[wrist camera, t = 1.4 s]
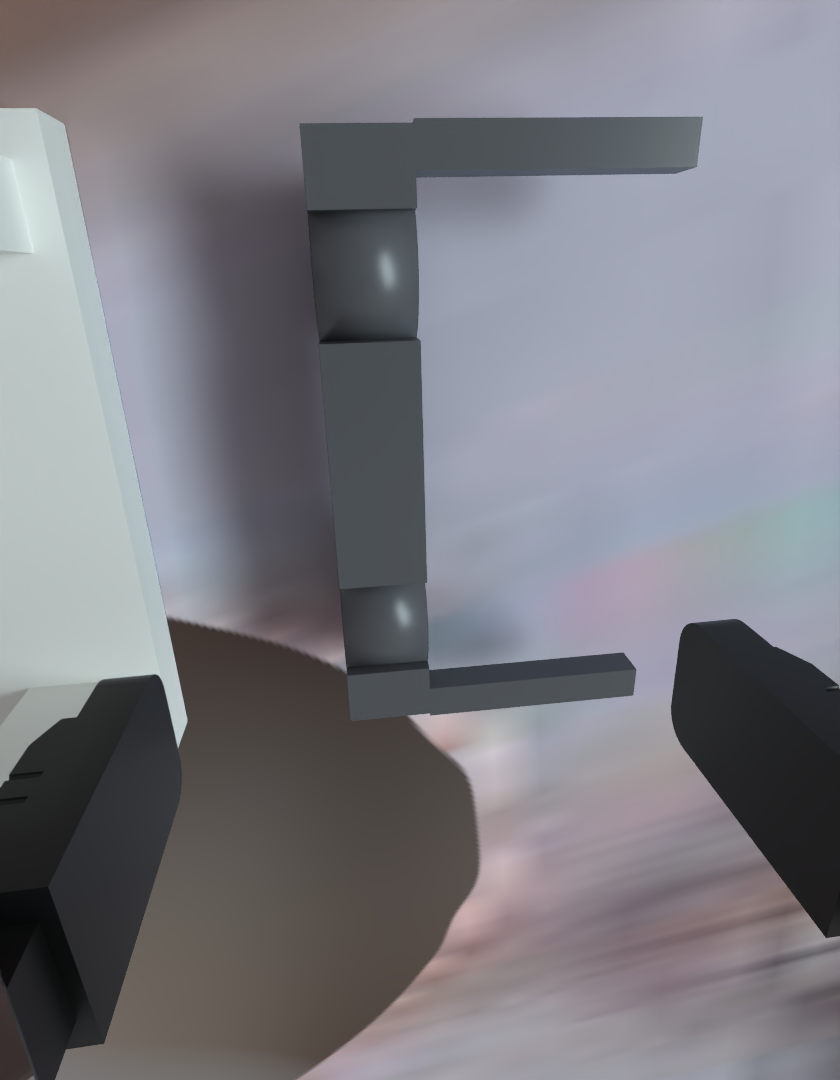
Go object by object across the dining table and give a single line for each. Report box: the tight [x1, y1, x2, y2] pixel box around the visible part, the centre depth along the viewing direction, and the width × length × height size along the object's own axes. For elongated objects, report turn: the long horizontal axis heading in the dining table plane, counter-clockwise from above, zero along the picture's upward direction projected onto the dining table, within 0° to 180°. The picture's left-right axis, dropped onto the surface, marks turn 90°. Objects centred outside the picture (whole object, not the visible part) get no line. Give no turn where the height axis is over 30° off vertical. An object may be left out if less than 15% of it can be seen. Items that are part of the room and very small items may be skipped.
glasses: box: [300, 117, 703, 721], centre depth 23 cm, size 19×11×5 cm, turn 2°
